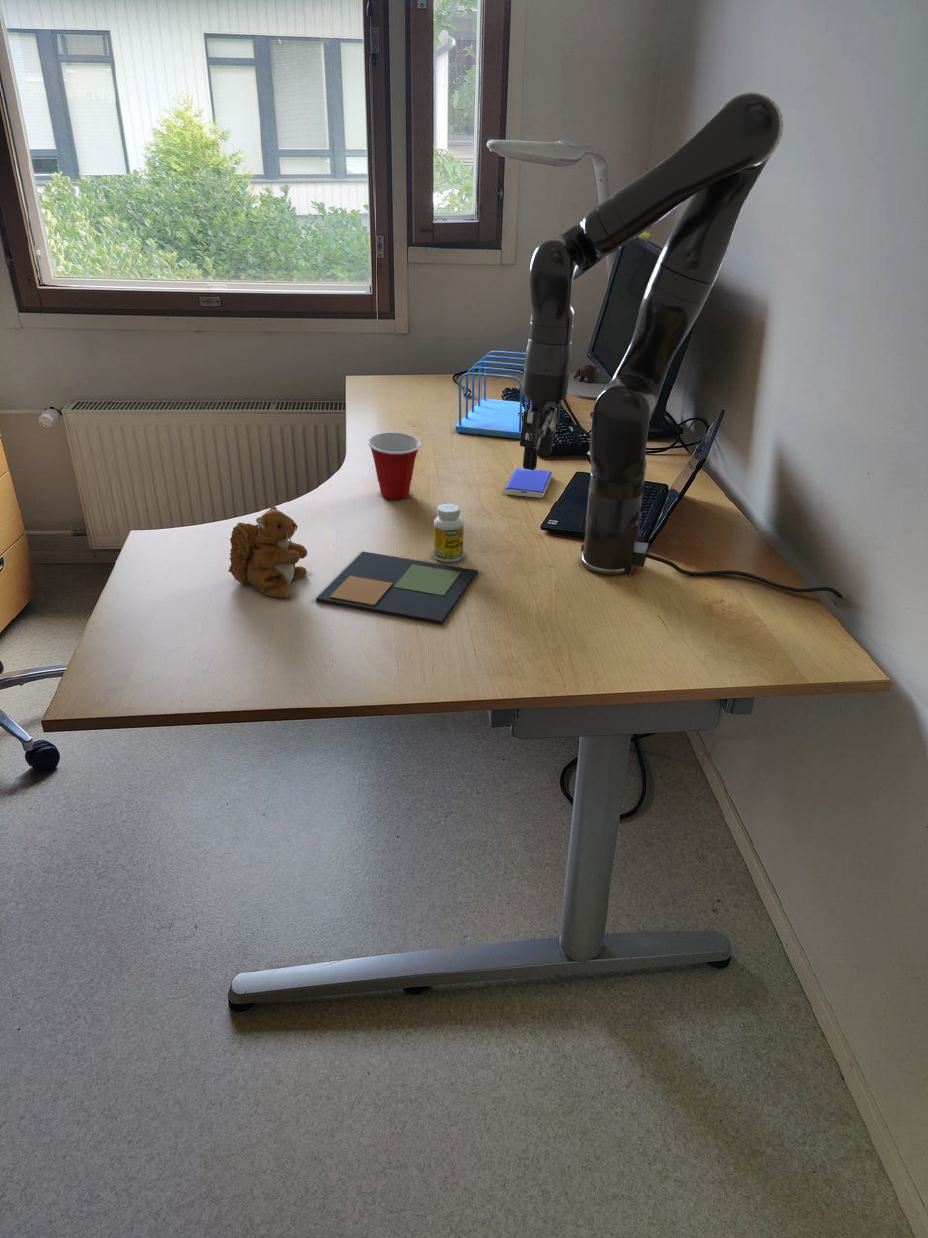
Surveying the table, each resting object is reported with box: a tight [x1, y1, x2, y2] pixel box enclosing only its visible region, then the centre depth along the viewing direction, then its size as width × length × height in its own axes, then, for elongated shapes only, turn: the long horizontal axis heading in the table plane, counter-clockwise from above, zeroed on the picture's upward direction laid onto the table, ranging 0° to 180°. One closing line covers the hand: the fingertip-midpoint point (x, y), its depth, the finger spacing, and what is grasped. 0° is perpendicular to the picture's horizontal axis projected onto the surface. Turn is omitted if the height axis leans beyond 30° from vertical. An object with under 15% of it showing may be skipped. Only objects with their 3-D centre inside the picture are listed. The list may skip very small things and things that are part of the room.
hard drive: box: [504, 467, 553, 499], centre depth 192 cm, size 2×8×12 cm
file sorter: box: [455, 350, 532, 440], centre depth 228 cm, size 25×17×15 cm
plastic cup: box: [367, 431, 422, 501], centre depth 184 cm, size 11×11×12 cm
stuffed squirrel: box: [227, 505, 308, 599], centre depth 149 cm, size 10×14×13 cm
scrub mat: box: [315, 551, 479, 625], centre depth 151 cm, size 22×19×1 cm
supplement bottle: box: [433, 503, 465, 563], centre depth 160 cm, size 5×5×10 cm
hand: (537, 461), depth 155 cm, fingers open, 8 cm apart
